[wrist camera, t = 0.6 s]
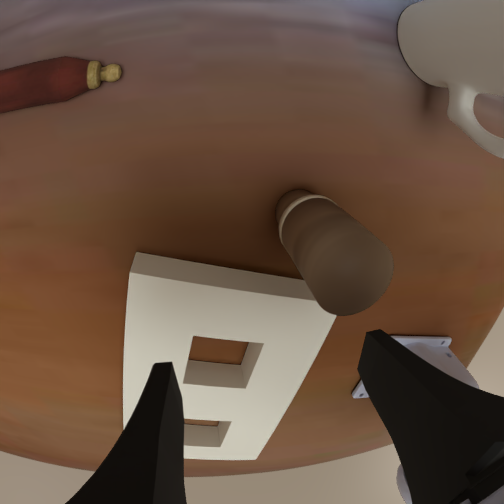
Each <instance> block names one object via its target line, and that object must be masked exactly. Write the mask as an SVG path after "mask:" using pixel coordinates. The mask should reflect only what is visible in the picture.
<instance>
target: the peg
mask: <svg viewBox="0 0 504 504" xmlns="http://www.w3.org/2000/svg"><path fill="white" fill-rule="evenodd" d="M275 217H276V221H277V223H278V224H279V237H280V240H281V243H282V245H283V246H284V248H285V249H286V251H287V252H288V254H289V255H290V257H291V259H292V260H293V262H294V264H295V265H296V267H297V269H298V270H299V272H300V274H301V276H302V277H303V279H304V281H305V282H306V284H307V286H308V287H309V289H310V291H311V292H312V294H313V296H314V298H315V299H316V301H317V303H318V304H319V306H320V307H321V308H322V309H323V310H325V311H326V312H328V313H330V314H333V315H338V316H347V315H353V314H356V313H359V312H361V311H363V310H365V309H367V308H369V307H370V306H371V305H373V304H374V303H375V302H376V301H377V300H378V299H379V298H380V297H381V296H382V295H383V294H384V292H385V291H386V289H387V288H388V286H389V284H390V281H391V279H392V275H393V269H394V263H393V257H392V254H391V252H390V250H389V249H388V247H387V246H386V245H385V244H384V243H383V242H381V241H380V240H379V239H378V238H377V237H375V236H374V235H373V234H372V233H371V232H370V231H368V230H367V229H366V228H365V227H364V226H362V225H361V224H360V223H359V222H358V221H356V220H355V219H354V218H353V217H351V216H350V215H349V214H348V213H346V212H345V211H344V210H343V209H342V208H340V207H339V206H338V205H337V204H336V203H335V202H333V201H332V200H331V199H329V198H327V197H325V196H322V195H313V194H312V193H310V192H308V191H306V190H301V189H298V190H292V191H290V192H288V193H286V194H285V195H284V196H282V198H281V199H280V200H279V202H278V203H277V206H276V210H275Z"/></svg>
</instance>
